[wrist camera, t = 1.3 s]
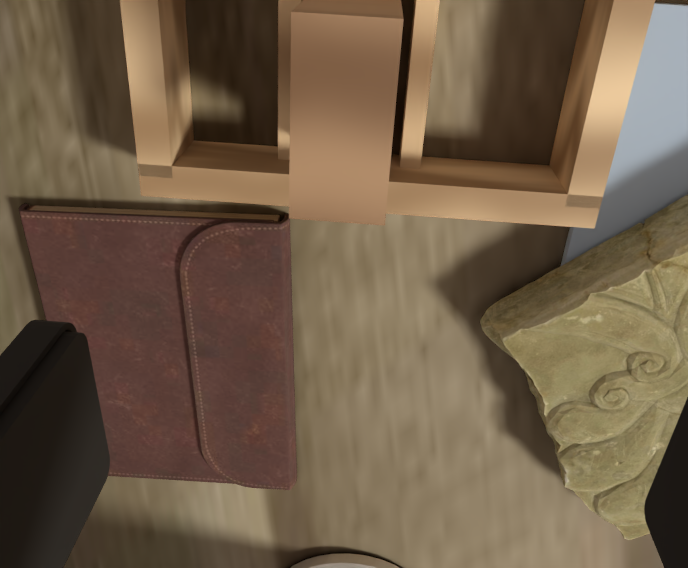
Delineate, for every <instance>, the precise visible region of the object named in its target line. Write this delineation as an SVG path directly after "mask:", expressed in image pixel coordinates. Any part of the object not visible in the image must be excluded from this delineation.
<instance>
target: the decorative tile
mask: <svg viewBox="0 0 688 568" xmlns="http://www.w3.org/2000/svg"><path fill="white" fill-rule="evenodd" d="M480 323H481V328H482V330H483V331H484V333H485V334H486V335H487V336H488V337H489V338H490V339H491V340H492V341H493V342H494V343H495V344H496V345H497V346H498V347H499V348H500V349H502V350H503V351H504V352H506V353H507V354H509V355H510V356H511V357H512V358H514V359H515V360H517V362H518V363H519V365H520V366H521V369H522V370H523V371H525V374H526V377H527V379H528V380H527V381H528V384H529V390H530V391H531V393H532V394H533V395H534V396H535V398H536V400H537V407H538V411H539V414H540V416H541V417H542V420H543V422H544V424H545V426H546V431H547V433H548V435H549V436H550V437H551V438H552V439H553V442H554V445H555V453H556V455H557V459H558V464H559V468H560V470H561V478H562V480H563V483H564V487H566V488H568V489H570V490H573V491H574V492H575V493H576V495H578V496H579V497H580V498H581V499H582V500H583V502H584V503H585V504H586V505H587V506H588V508H589V509H590V510H591V511H593V512H594V513H596V514H597V515H598V516H600V517H601V518H602V519H604V520H605V521H607V522H609V523H612V524H614V525H615V526H616V527H617V528H618V529H619V530H620V532H621V533H622V535H623V537H624V539H628V540H631V539H634V538H637V537H640V536H643V535H646V534H649V533H650V531H649V529H648V526H647V523H646V520H645V514H644V506H645V500H646V497H647V495H648V492H649V490H650V488H651V485H652V483H653V480H654V478H655V475H656V473H657V470H658V468H659V466H660V463H661V461H662V458H663V456H664V453H665V451H666V449H667V446H668V444H669V441H670V439H671V436H672V434H673V431H674V429H675V427H676V424H677V422H678V419H679V417H680V414H681V412H682V410H683V407H684V405H685V402H686V400H687V397H688V195H685V196H684V197H682V198H680V199H679V200H677V201H675V202H673V203H672V204H670V205H669V206H667V207H665V208H664V209H662V210H660V211H659V212H657V213H655V214H654V215H652V216H650V217H649V218H647V219H645V221H644V223H638V224H637V225H635V226H633V227H632V228H630V229H628V230H626V231H624V232H622V233H620V234H618V235H616V236H614V237H612V238H611V239H609V240H607V241H605V242H603V243H601V244H600V245H598V246H596V247H594V248H592V249H590V250H589V251H587V252H585V253H583V254H582V255H580V256H578V257H576V258H575V259H573V260H571V261H569V262H567V263H566V264H564V265H562V266H561V267H559V268H557V269H555V270H553V271H550V272H549V273H547V274H546V275H544V276H542V277H541V278H539V279H537V280H536V281H534V282H531V283H529V284H527V285H526V286H524V287H522V288H520V289H519V290H517V291H515V292H514V293H512V294H510V295H508V296H506V297H504V298H502V299H501V300H499V301H498V302H496V303H495V304H493V305H492V306H490V307H489V308H488V309H487V310H486V312H485V314H484V315H483V317H482V318H481V320H480Z"/></svg>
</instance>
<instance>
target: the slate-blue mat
mask: <svg viewBox="0 0 688 568" xmlns="http://www.w3.org/2000/svg"><path fill="white" fill-rule="evenodd" d="M685 195H688V5H686V4H670V3H655V4H654V7H653V11H652V15H651V19H650V22H649V26H648V30H647V34H646V37H645V41H644V45H643V49H642V52H641V56H640V60H639V64H638V67H637V71H636V75H635V79H634V82H633V86H632V90H631V94H630V97H629V101H628V105H627V109H626V112H625V116H624V120H623V123H622V127H621V131H620V135H619V138H618V142H617V146H616V150H615V153H614V157H613V161H612V165H611V168H610V172H609V176H608V180H607V183H606V187H605V191H604V195H603V198H602V202H601V206H600V210H599V213H598V217H597V221H596V225H595V228H594V229H593V228H580V227H570V229H569V233H568V237H567V241H566V245H565V250H564V254H563V258H562V262H561V266H562V265H564V264H566V263H567V262H569V261H571V260H573V259H575V258H576V257H578V256H580V255H582V254H583V253H585V252H587V251H589V250H590V249H592V248H594V247H596V246H598V245H600V244H601V243H603V242H605V241H607V240H609V239H611V238H612V237H614V236H616V235H618V234H620V233H622V232H624V231H626V230H628V229H630V228H632V227H633V226H635V225H637V224H638V223H644V221H645V219H647V218H649V217H650V216H652V215H654V214H655V213H657V212H659V211H660V210H662V209H664V208H665V207H667V206H669V205H670V204H672V203H673V202H675V201H677V200H679V199H680V198H682V197H684V196H685ZM561 266H560V267H561Z"/></svg>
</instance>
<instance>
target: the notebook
mask: <svg viewBox="0 0 688 568" xmlns="http://www.w3.org/2000/svg"><path fill="white" fill-rule="evenodd" d="M19 213H20V217H21V221H22V225H23V229H24V233H25V237H26V241H27V245H28V249H29V253H30V257H31V261H32V265H33V269H34V273H35V277H36V281H37V285H38V289H39V293H40V297H41V301H42V305H43V309H44V313H45V317H46V321H57V322H70V323H72V324H73V325H74V326H75V328H76V330H77V332H80V333H84V334H85V336H86V337H87V341H88V346H89V351H90V356H91V361H92V366H93V372H94V377H95V382H96V387H97V392H98V398H99V403H100V408H101V413H102V418H103V424H104V429H105V434H106V439H107V444H108V450H109V455H110V467H109V473H108V476H120V477H136V478H153V479H169V480H185V481H201V482H217V483H233V484H238V485H241V486H245V487H251V488H265V489H283V490H290V489H291V488H292V487H293V486H294V485H295V483H296V481H297V463H296V427H295V390H294V354H293V318H292V282H291V246H290V218H289V214H284V219H283V220H282V221H280V215H264V214H239V213H213V212H188V211H162V210H137V209H112V208H86V207H61V206H35V205H31V206H29V204H23V205H21V206H20V207H19Z"/></svg>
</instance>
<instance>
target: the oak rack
mask: <svg viewBox="0 0 688 568" xmlns="http://www.w3.org/2000/svg"><path fill="white" fill-rule="evenodd" d="M302 1H303V0H278V146H265V145H251V144H237V143H223V142H208V141H194V133H193V117H192V101H191V86H190V70H189V54H188V39H187V23H186V7H185V0H120V7H121V16H122V25H123V34H124V43H125V52H126V62H127V71H128V80H129V89H130V98H131V107H132V116H133V125H134V134H135V144H136V153H137V162H138V171H139V180H140V189H141V196H153V197H166V198H180V199H194V200H208V201H222V202H235V203H249V204H263V205H277V206H289V162H290V71H291V11H292V10H294V9H295V8H296V7H297V6H298V5H299V4H300V3H301V2H302ZM439 2H440V0H414V9H413V19H412V29H411V39H410V50H409V60H408V70H407V80H406V91H405V101H404V111H403V122H402V132H401V142H400V152H399V155H394V154H391V163H390V174H389V185H388V196H387V207H386V213H387V214H401V215H414V216H428V217H442V218H456V219H469V220H483V221H497V222H511V223H525V224H538V225H552V226H566V227H580V228H593V229H594V228H595V225H596V221H597V217H598V213H599V210H600V206H601V202H602V198H603V195H604V191H605V187H606V183H607V180H608V176H609V172H610V168H611V165H612V161H613V157H614V153H615V150H616V146H617V142H618V138H619V135H620V131H621V127H622V123H623V120H624V116H625V112H626V109H627V105H628V101H629V97H630V94H631V90H632V86H633V82H634V79H635V75H636V71H637V67H638V64H639V60H640V56H641V52H642V49H643V45H644V41H645V37H646V34H647V30H648V26H649V22H650V19H651V15H652V11H653V7H654V4H655V0H585V3H584V8H583V12H582V17H581V22H580V26H579V31H578V35H577V40H576V45H575V49H574V54H573V58H572V63H571V68H570V72H569V77H568V81H567V86H566V91H565V95H564V100H563V104H562V109H561V114H560V118H559V123H558V127H557V132H556V137H555V141H554V146H553V150H552V155H551V160H550V164H549V165H537V164H522V163H508V162H494V161H479V160H465V159H451V158H437V157H422V149H423V141H424V132H425V123H426V115H427V106H428V97H429V89H430V80H431V71H432V63H433V54H434V45H435V36H436V28H437V19H438V10H439Z"/></svg>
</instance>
